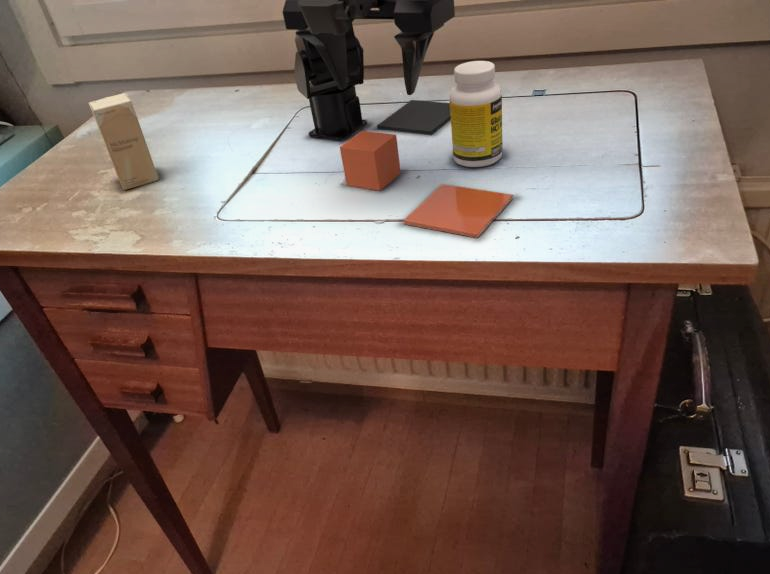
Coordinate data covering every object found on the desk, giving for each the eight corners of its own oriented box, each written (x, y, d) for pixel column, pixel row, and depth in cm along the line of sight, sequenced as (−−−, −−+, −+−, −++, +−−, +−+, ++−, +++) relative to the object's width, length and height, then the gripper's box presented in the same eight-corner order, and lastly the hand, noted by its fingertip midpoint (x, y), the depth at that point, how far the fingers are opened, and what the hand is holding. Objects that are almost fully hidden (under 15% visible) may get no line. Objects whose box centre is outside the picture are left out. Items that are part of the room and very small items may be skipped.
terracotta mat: (403, 224, 73) (403, 220, 72) (442, 187, 78) (442, 183, 78) (477, 238, 68) (477, 233, 68) (513, 198, 74) (513, 194, 73)
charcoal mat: (377, 128, 95) (376, 125, 94) (412, 103, 101) (411, 99, 100) (431, 134, 90) (431, 131, 90) (464, 107, 96) (464, 104, 96)
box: (124, 191, 90) (90, 110, 83) (119, 180, 93) (85, 102, 86) (161, 179, 91) (131, 99, 84) (155, 169, 94) (125, 90, 87)
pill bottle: (501, 168, 80) (499, 74, 73) (450, 169, 81) (443, 78, 74) (504, 146, 84) (503, 56, 77) (456, 148, 86) (451, 60, 79)
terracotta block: (346, 185, 82) (339, 147, 79) (368, 168, 85) (362, 130, 82) (379, 191, 80) (374, 151, 76) (401, 173, 83) (396, 134, 79)
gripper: (232, -45, 65) (271, 111, 75) (393, -52, 56) (412, 126, 67) (299, -70, 72) (326, 77, 82) (452, -79, 63) (461, 86, 73)
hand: (376, 91), depth 76 cm, fingers open, 9 cm apart
